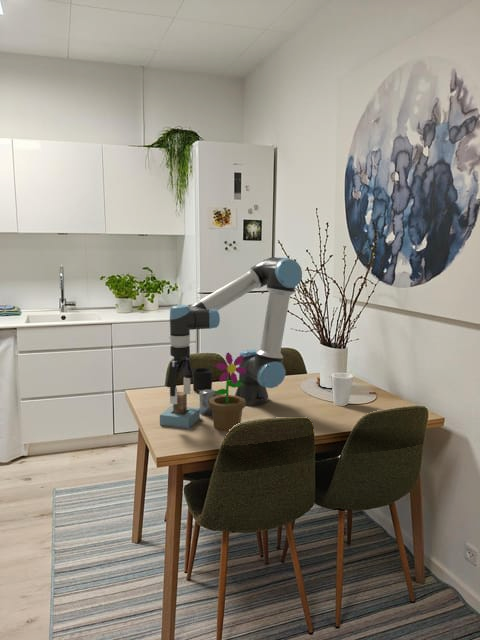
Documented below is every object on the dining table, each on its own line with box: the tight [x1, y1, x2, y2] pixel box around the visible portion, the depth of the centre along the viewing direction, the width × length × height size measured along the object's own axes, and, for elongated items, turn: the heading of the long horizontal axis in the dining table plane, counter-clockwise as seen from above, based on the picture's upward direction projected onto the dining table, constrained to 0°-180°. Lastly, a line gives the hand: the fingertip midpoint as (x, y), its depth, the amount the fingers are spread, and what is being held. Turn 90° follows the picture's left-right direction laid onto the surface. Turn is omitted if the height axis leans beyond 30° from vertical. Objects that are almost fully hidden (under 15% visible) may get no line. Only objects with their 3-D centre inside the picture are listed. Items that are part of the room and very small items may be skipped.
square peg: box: [172, 391, 188, 415], centre depth 201 cm, size 4×4×11 cm
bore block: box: [159, 404, 201, 429], centre depth 201 cm, size 12×12×4 cm
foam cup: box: [330, 372, 354, 407], centre depth 225 cm, size 10×9×13 cm
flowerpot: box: [209, 352, 247, 432], centre depth 195 cm, size 14×14×30 cm
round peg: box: [198, 389, 217, 416], centre depth 211 cm, size 7×7×9 cm
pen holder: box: [192, 367, 213, 394], centre depth 242 cm, size 9×9×10 cm
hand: (180, 398), depth 200 cm, fingers open, 13 cm apart
